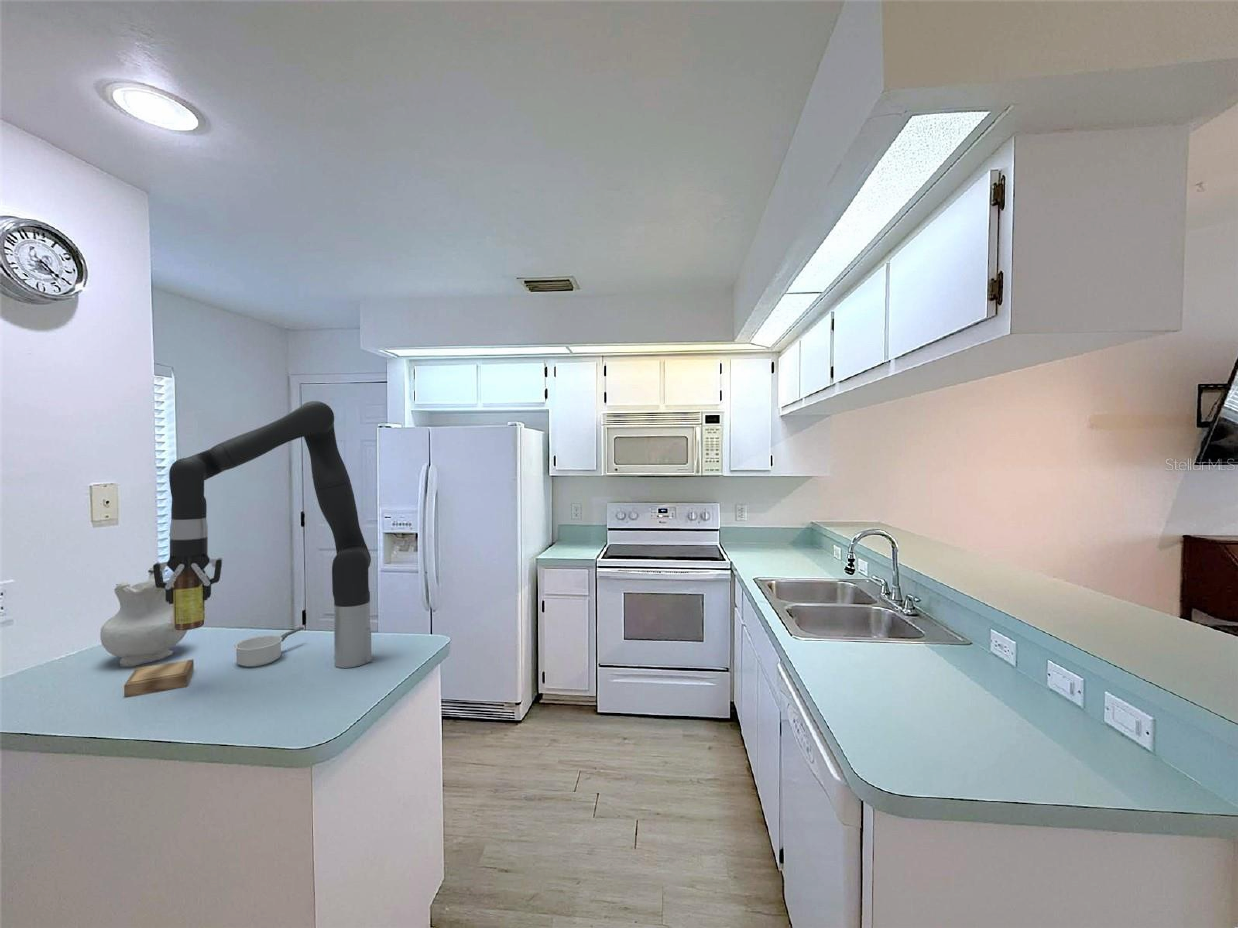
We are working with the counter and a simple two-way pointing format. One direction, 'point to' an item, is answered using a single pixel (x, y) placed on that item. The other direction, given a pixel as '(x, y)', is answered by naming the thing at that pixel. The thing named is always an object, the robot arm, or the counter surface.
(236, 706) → the counter surface
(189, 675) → the walnut base block
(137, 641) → the ceramic pitcher
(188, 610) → the sauce bottle
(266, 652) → the saucepan
